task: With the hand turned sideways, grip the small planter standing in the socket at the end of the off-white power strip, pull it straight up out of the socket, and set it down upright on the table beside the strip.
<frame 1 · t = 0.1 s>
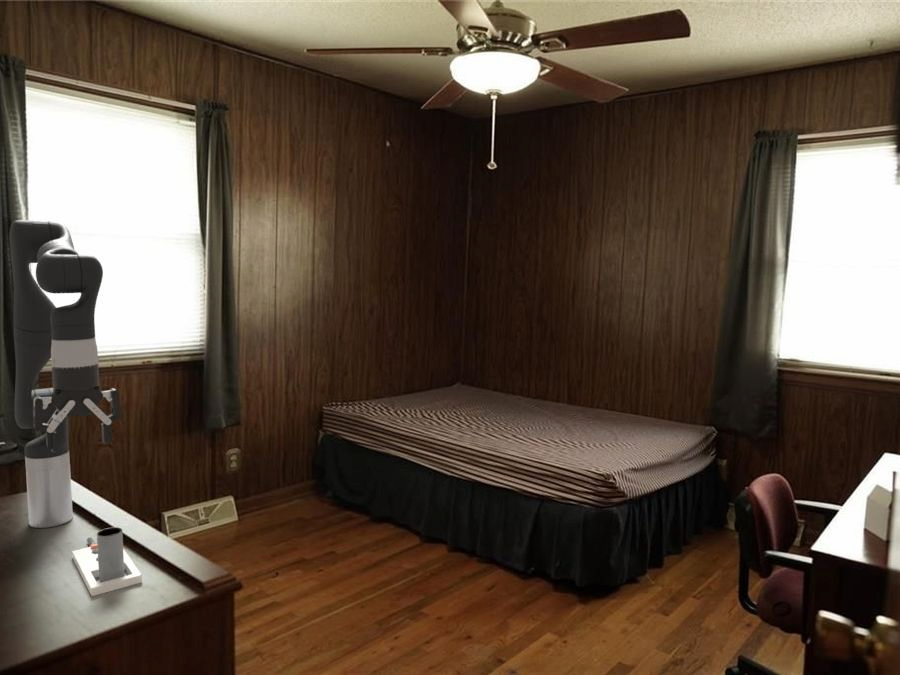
hand: (80, 447, 122), 29 cm above the table, tool pointing down, fingers open, 8 cm apart
planter: (112, 581, 131), resting in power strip
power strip: (105, 569, 135), on the table
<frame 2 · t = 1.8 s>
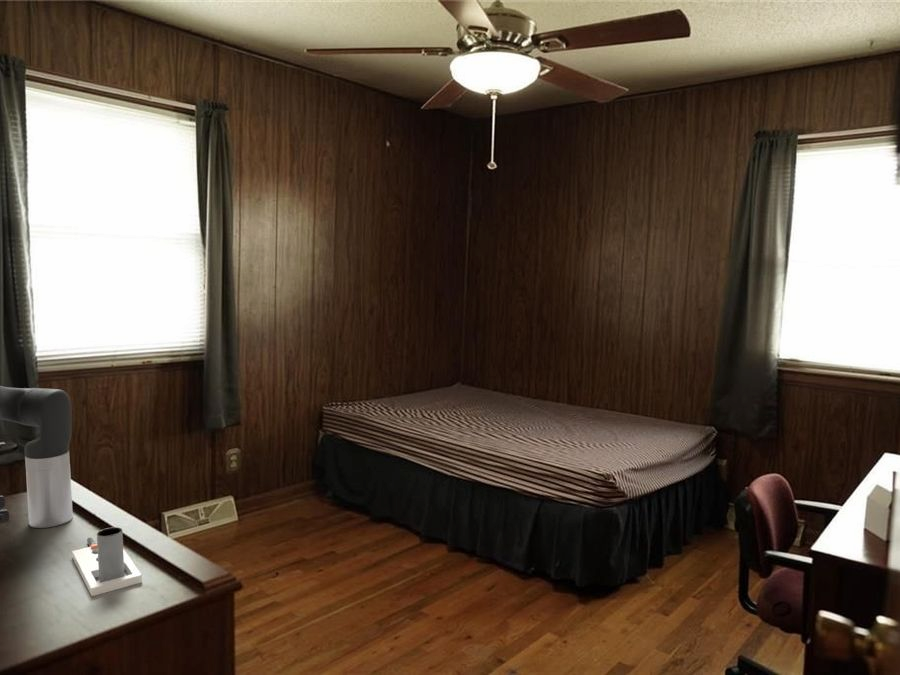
hand: (6, 508, 118), 19 cm above the table, tool horizontal, fingers open, 8 cm apart
nothing on the table moved.
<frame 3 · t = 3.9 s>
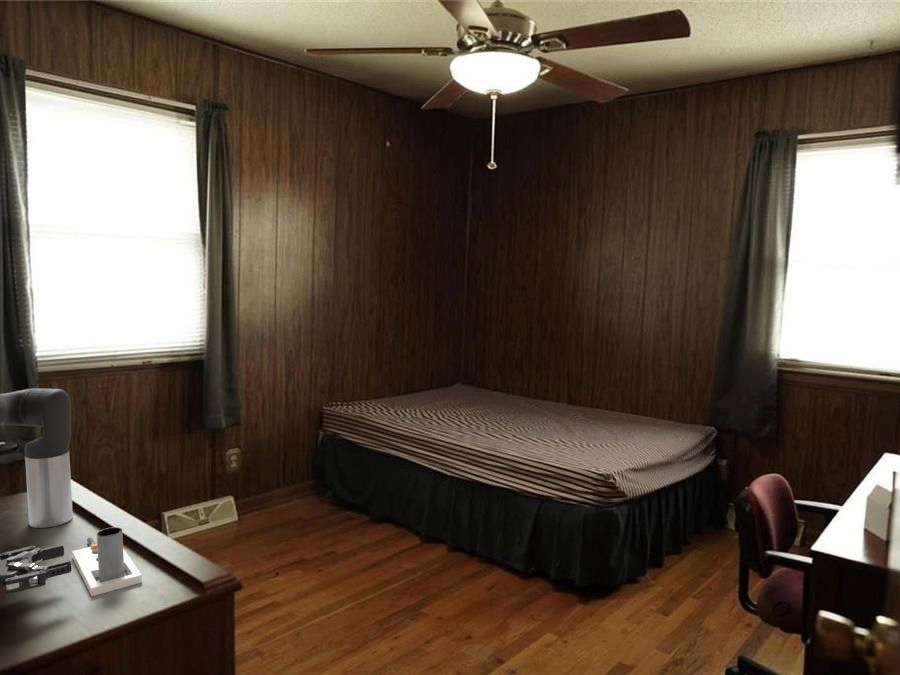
hand: (67, 557, 125), 7 cm above the table, tool horizontal, fingers open, 8 cm apart
nothing on the table moved.
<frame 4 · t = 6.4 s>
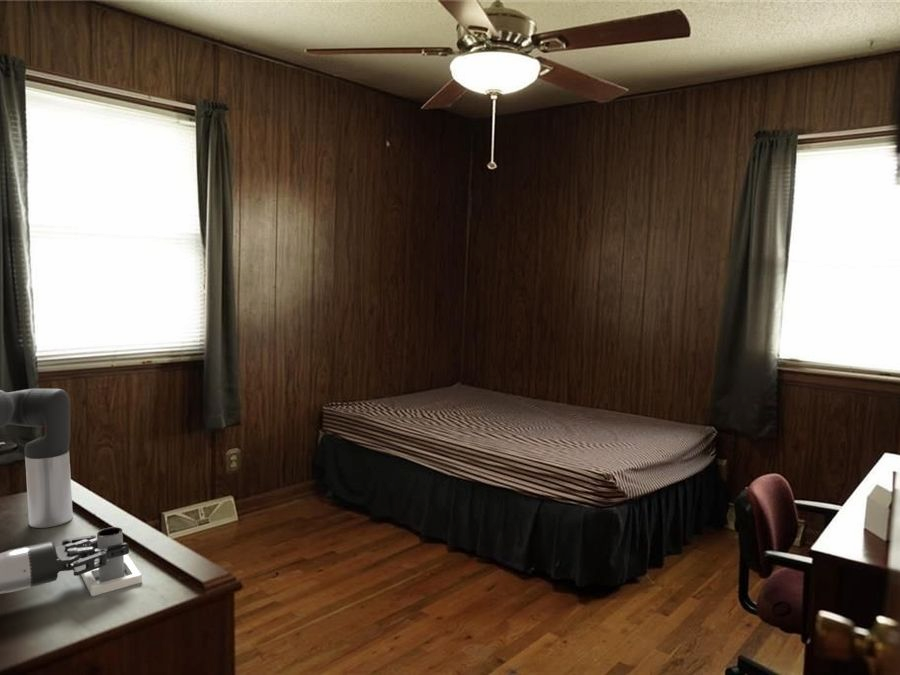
hand: (124, 543, 132), 7 cm above the table, tool horizontal, fingers closed on planter, 4 cm apart
planter: (112, 581, 131), resting in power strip, touching gripper
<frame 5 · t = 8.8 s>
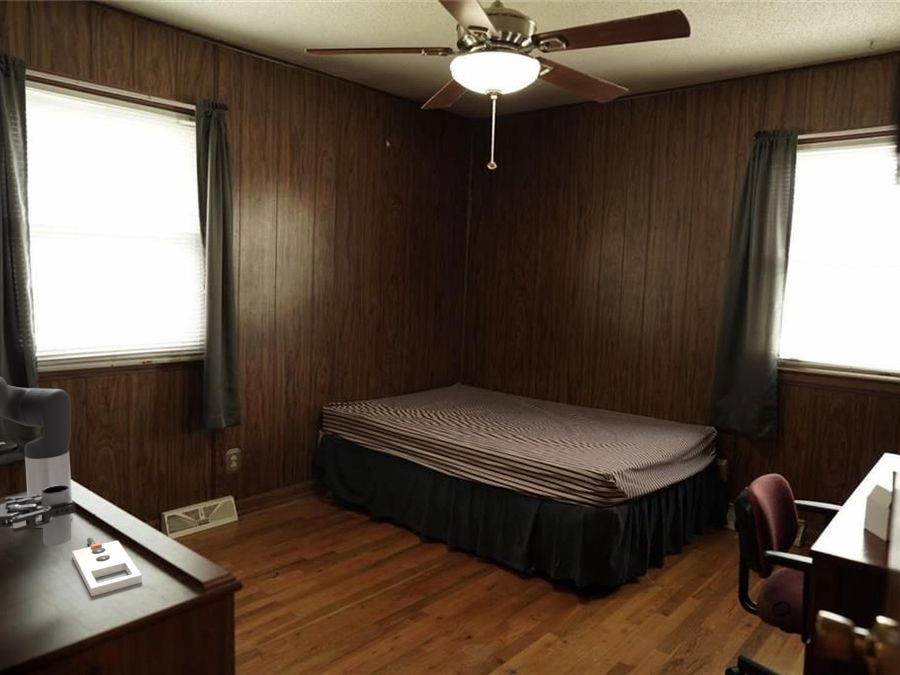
hand: (71, 502, 125), 18 cm above the table, tool horizontal, fingers closed on planter, 4 cm apart
planter: (57, 542, 124), point 11 cm above the table, touching gripper
when the fingers open (8 cm above the table, at t = 11.6 s): planter drops 1 cm, on the table.
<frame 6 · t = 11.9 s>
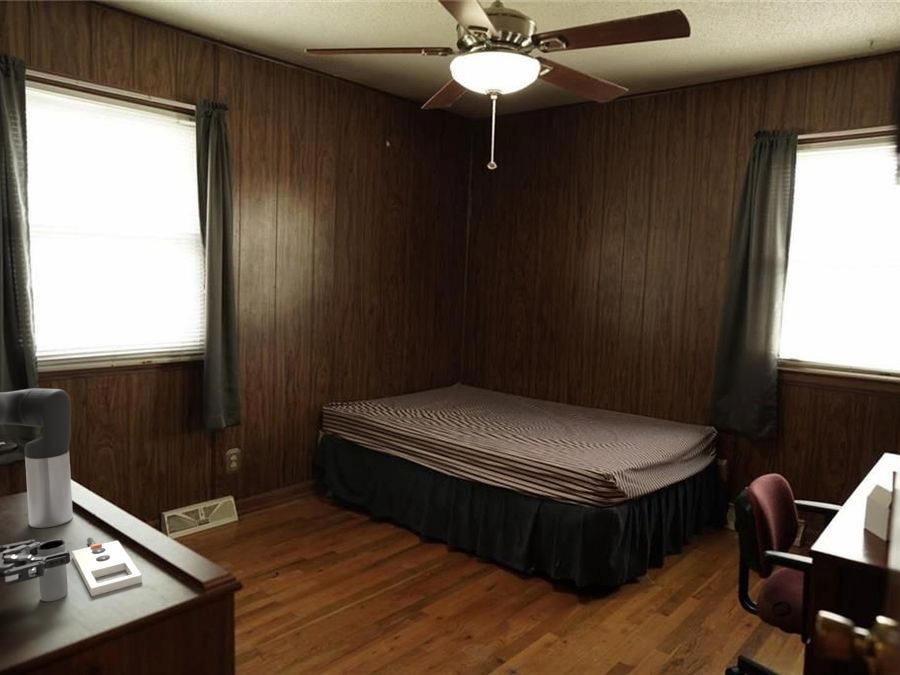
hand: (66, 550, 125), 8 cm above the table, tool horizontal, fingers open, 6 cm apart
planter: (54, 596, 125), on the table
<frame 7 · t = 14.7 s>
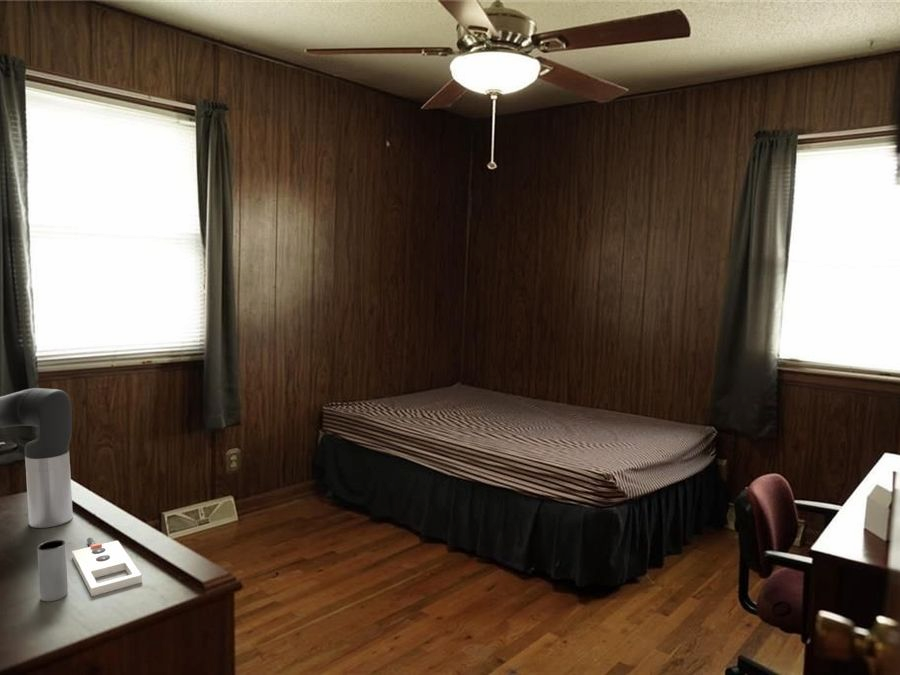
nothing on the table moved.
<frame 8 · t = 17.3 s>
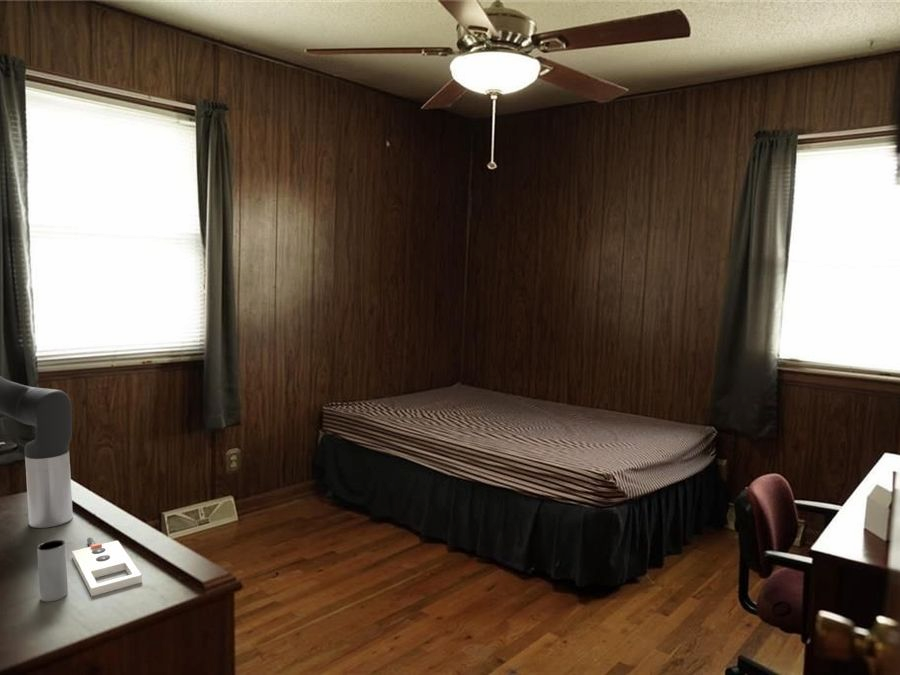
nothing on the table moved.
at the end: planter inside the target area (0.4 cm from its centre), on the table; planter tilted 0°; the gripper is holding nothing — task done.
